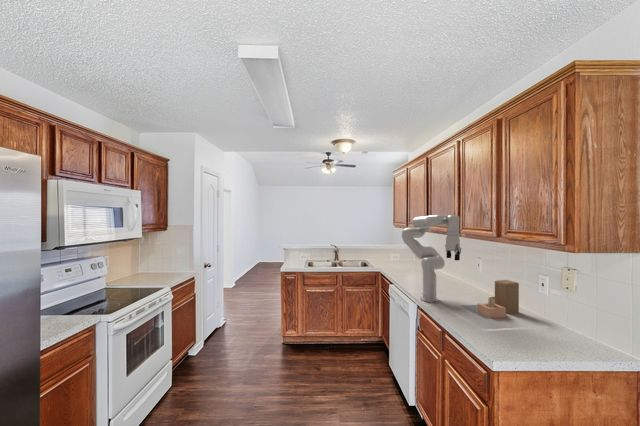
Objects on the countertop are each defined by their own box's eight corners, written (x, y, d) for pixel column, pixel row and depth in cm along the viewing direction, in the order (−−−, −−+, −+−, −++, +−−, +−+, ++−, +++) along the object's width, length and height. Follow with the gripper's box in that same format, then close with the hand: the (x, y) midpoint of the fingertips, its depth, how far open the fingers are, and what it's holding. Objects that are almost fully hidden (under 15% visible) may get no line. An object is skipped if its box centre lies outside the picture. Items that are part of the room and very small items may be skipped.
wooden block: (505, 309, 204) (505, 279, 204) (519, 314, 194) (519, 282, 194) (493, 310, 201) (494, 280, 201) (507, 315, 191) (507, 283, 191)
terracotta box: (477, 312, 195) (477, 303, 195) (493, 311, 196) (493, 302, 196) (489, 318, 184) (489, 308, 184) (505, 317, 185) (506, 308, 185)
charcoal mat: (459, 306, 209) (459, 305, 209) (482, 305, 211) (482, 304, 211) (485, 320, 183) (485, 318, 183) (511, 318, 185) (511, 317, 185)
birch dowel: (486, 312, 192) (486, 296, 192) (491, 311, 192) (492, 295, 192) (490, 313, 188) (491, 297, 188) (495, 313, 189) (496, 297, 189)
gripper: (441, 232, 213) (440, 257, 214) (455, 234, 196) (455, 261, 197) (451, 232, 214) (450, 257, 215) (466, 234, 197) (465, 261, 198)
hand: (452, 259), depth 206 cm, fingers open, 9 cm apart
